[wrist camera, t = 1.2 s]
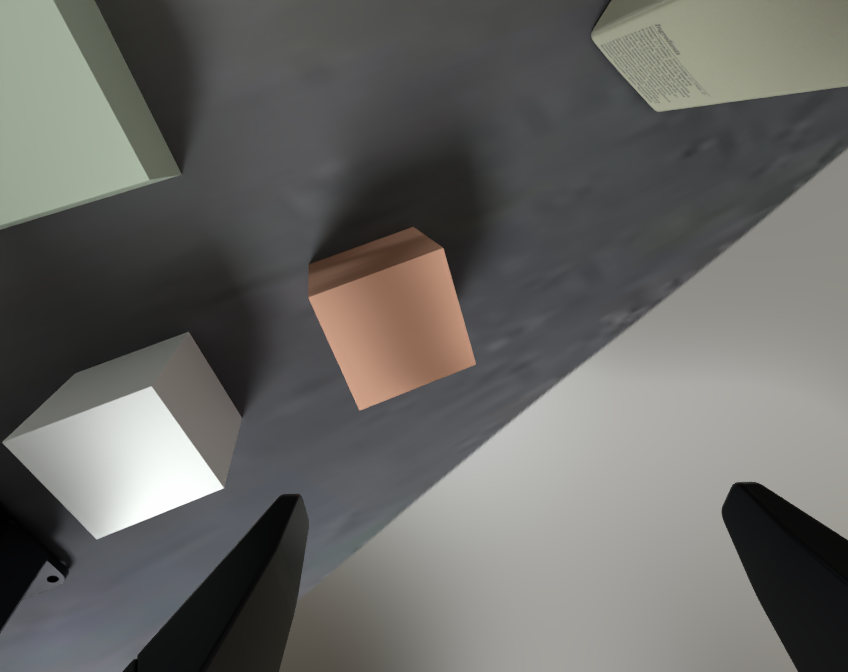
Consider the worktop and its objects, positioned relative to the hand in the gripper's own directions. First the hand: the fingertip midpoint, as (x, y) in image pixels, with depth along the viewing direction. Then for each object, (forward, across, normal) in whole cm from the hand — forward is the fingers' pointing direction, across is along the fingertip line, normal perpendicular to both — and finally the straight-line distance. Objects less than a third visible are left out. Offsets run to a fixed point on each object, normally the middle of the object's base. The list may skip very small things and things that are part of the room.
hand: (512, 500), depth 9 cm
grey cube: (+10, +14, +4) cm, 18 cm away
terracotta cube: (+13, +4, +1) cm, 13 cm away
